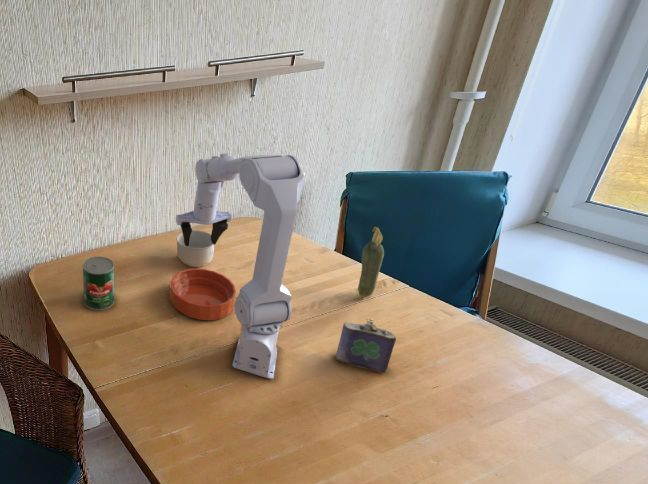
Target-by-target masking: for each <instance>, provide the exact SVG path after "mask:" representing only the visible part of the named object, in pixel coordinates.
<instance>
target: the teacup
mask: <svg viewBox="0 0 648 484" xmlns="http://www.w3.org/2000/svg"><path fill="white" fill-rule="evenodd" d="M192 230H193V231H192V233H191V235H190V240H189V246H185V244H184V237H183V232H182V231H181V232H180V233H179V234H178V235H177V236H176V250H177V256H178V259H179V260H180V261H181V262H182V263H183V264H185V265H187V266H188V267H191V268H201V267H204V266H206V265H208V264H209V263H211V262H212V260H213V259H214V252H215V244H214V245H213V243H212V241H211V233H210V232H207V231H204V230H200V229H192Z"/></svg>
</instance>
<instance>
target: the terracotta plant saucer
mask: <svg viewBox="0 0 648 484" xmlns="http://www.w3.org/2000/svg"><path fill="white" fill-rule="evenodd" d="M169 282H170V283H169V284H170V285H169V301H170V303H171V304H172V306H173V307H174V308H175V309H176V310H177V311H178V312H179V313H181V314H183V315H185V316H187V317H189V318H192V319H196V320H199V321H200V320H203V321H215V320H220V319H223V318H225V317H227V316H229V315H230V314H231V312H233V311H234V304H235V300H236V294H237V292H236V291H237V290H236V287H235V284H234V283H233V282H232V280H231V279H229V278H228V277H226V275H224V274H222V273H219V272H218V271H214V270H211V269H206V268H189V269H184V270H181V271H179V272H177V273H175V274H174V275H173V276H172V278H171V280H170V281H169Z"/></svg>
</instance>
